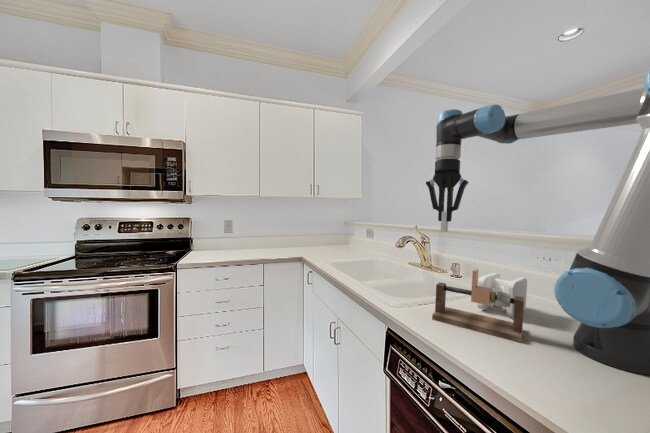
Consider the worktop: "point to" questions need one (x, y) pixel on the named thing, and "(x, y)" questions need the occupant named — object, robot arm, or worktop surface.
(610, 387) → the worktop surface
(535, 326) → the worktop surface
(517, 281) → the cable organizer
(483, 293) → the tan wooden l-shaped block
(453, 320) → the brown rod stand
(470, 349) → the worktop surface
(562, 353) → the worktop surface
